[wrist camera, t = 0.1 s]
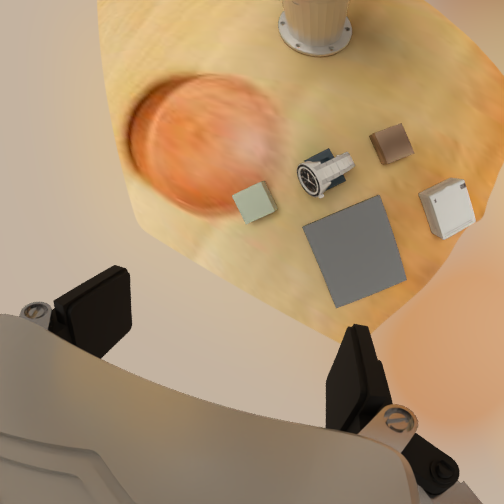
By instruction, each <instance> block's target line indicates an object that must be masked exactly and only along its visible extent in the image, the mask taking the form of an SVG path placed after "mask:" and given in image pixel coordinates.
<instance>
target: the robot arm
mask: <svg viewBox="0 0 504 504" xmlns="http://www.w3.org/2000/svg"><path fill="white" fill-rule="evenodd" d="M349 1H350V0H282V3H283V8H284V11H283V12H282V14H281V16H280V17H279V21H278V28H279V32H280V35H281V37H282V39H283V40H284V42H285V43H286V44H287V45H288V46H289V47H291V48H292V49H294V50H295V51H298V52H300V53H302V54H305V55H309V56H320V57H322V56H329V55H333V54H336V53H338V52H340V51H341V50H343V49H344V48H345V47H346V46H347V45H348V43H349V41H350V39H351V35H352V27H351V23H350V21H349V19H348V17H347V16H346V15H347V11H348V6H349ZM346 30H348V31H346ZM297 47H300V48H297ZM330 50H333V51H330ZM54 307H55V308H54V309H53V310H52V309H51V306H50V305H49V304H47V303H44V302H33V303H30V304H28V305H26V306H25V307H24V308H23V309H22V310H21V313H20V316H19V317H18V316H13V315H8V314H0V504H482V502H481V501H480V500H479V499H478V498H477V496H476V495H475V494H474V493H473V491H472V490H471V489H470V488H469V487H468V485H467V484H466V483H465V482H464V481H463V482H462V483H460V482H459V481H458V477H459V468H458V465H457V463H456V462H455V461H454V460H453V459H452V458H451V457H449V456H448V455H446V454H445V453H444V452H442V451H441V450H439V449H438V448H436V447H435V446H433V445H432V444H431V443H429V442H428V441H426V440H425V439H424V438H422V437H421V436H419V435H418V434H417V433H415V432H416V430H417V428H418V420H417V417H416V415H414V413H413V412H412V411H411V410H410V409H408V408H407V407H405V406H402V405H398V404H393V403H392V399H391V395H390V391H389V388H388V383H387V380H386V376H385V372H384V369H383V365H382V363H381V361H380V360H378V359H377V356H376V352H375V349H374V345H373V342H372V338H371V335H370V332H369V328H368V326H363V325H358V324H354V325H353V326H352V327H348V328H347V330H346V332H345V335H344V338H343V340H342V343H341V345H340V348H339V350H338V353H337V356H336V358H335V360H334V363H333V365H332V367H331V370H330V372H329V374H328V377H327V380H326V428H322V427H315V426H310V425H305V424H300V423H294V422H288V421H284V420H278V419H273V418H269V417H264V416H260V415H256V414H252V413H248V412H244V411H240V410H236V409H233V408H229V407H225V406H222V405H219V404H215V403H212V402H208V401H205V400H202V399H199V398H196V397H193V396H190V395H187V394H184V393H181V392H178V391H176V390H173V389H170V388H167V387H165V386H162V385H160V384H157V383H154V382H152V381H149V380H147V379H144V378H142V377H140V376H137V375H135V374H133V373H130V372H128V371H126V370H123V369H121V368H119V367H117V366H115V365H112V364H110V363H108V362H106V361H104V360H102V359H101V358H102V357H103V356H104V355H105V354H106V353H107V352H108V351H109V350H110V349H111V348H112V347H113V346H114V345H115V344H116V343H117V342H118V341H120V339H122V338H123V337H124V336H125V335H126V334H127V333H128V332H129V331H130V329H131V326H132V315H131V292H130V274H129V273H128V271H127V269H126V268H123V267H120V266H116V265H114V266H112V267H111V268H108V269H107V270H105V271H103V272H101V273H100V274H98V275H96V276H94V277H93V278H91V279H89V280H87V281H86V282H84V283H82V284H81V285H79V286H77V287H76V288H74V289H72V290H71V291H69V292H67V293H66V294H64V295H62V296H61V297H59V298H57V299H56V300H54Z"/></svg>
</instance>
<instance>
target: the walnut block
mask: <svg viewBox="0 0 504 504" xmlns="http://www.w3.org/2000/svg"><path fill="white" fill-rule="evenodd" d="M369 137H370V139H371V141H372V143H373V145H374V148H375V150H376V152H377V154H378V157H379V159H380V161H381V164H389V163H391V162H394V161H396V160H399V159H401V158H404V157H406V156H409V155H411V154H414V151H413V149H412V146H411V144H410V141H409V139H408V137H407V134H406V132H405V130H404V128H403V126H402V123H400V124H398V125H395V126H392V127H389V128H387V129H384V130H382V131H379V132H376V133H374V134H372V135H370V136H369Z"/></svg>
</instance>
